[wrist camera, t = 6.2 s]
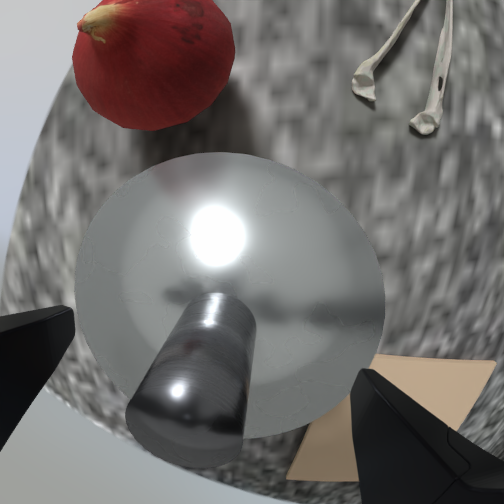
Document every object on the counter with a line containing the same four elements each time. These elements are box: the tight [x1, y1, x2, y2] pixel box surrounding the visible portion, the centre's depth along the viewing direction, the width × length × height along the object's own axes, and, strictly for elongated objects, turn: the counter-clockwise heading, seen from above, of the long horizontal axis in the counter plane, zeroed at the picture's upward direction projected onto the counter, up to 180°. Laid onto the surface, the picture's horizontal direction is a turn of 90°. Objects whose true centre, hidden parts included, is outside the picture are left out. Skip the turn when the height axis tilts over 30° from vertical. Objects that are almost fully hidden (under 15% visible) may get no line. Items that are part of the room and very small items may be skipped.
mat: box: [286, 354, 497, 482], centre depth 17 cm, size 12×12×1 cm
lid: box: [75, 152, 385, 468], centre depth 9 cm, size 12×12×6 cm
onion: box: [72, 0, 235, 131], centre depth 9 cm, size 6×6×8 cm
